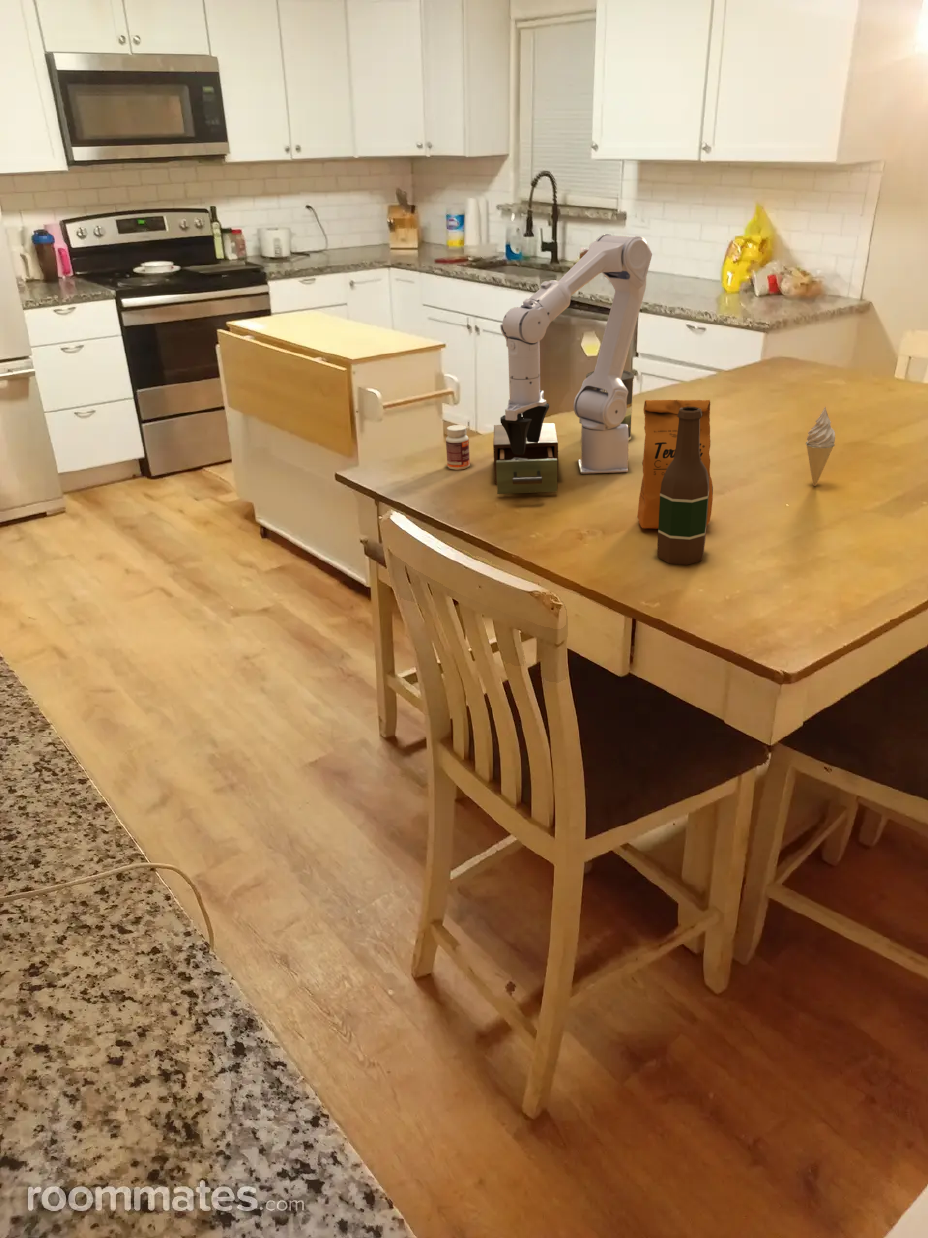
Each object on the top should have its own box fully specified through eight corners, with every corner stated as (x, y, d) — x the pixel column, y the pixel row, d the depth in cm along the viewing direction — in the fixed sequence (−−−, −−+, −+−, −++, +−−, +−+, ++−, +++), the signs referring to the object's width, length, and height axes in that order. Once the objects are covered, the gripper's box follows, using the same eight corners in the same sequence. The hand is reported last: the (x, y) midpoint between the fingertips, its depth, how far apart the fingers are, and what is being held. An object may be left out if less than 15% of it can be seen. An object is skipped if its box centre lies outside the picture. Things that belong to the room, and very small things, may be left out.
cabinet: (558, 481, 181) (558, 442, 178) (494, 484, 182) (493, 444, 178) (554, 460, 193) (554, 422, 190) (495, 462, 194) (493, 424, 190)
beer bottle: (650, 548, 151) (657, 403, 140) (696, 544, 151) (707, 400, 140) (663, 567, 144) (671, 417, 133) (711, 563, 144) (724, 413, 133)
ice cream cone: (828, 481, 174) (839, 403, 167) (828, 490, 169) (840, 410, 162) (800, 480, 175) (810, 402, 168) (800, 489, 171) (810, 409, 164)
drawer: (558, 500, 170) (558, 468, 167) (497, 502, 170) (496, 470, 167) (554, 470, 185) (554, 440, 182) (497, 472, 186) (496, 442, 183)
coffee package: (709, 538, 153) (719, 407, 143) (634, 534, 156) (639, 406, 146) (711, 516, 162) (721, 391, 151) (639, 512, 165) (644, 390, 154)
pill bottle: (467, 470, 191) (465, 430, 187) (445, 469, 191) (442, 430, 188) (471, 462, 195) (470, 424, 191) (450, 462, 196) (447, 424, 192)
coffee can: (626, 446, 199) (628, 381, 193) (580, 443, 203) (580, 379, 196) (636, 432, 208) (638, 369, 201) (592, 429, 211) (593, 368, 205)
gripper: (530, 386, 161) (531, 461, 167) (558, 367, 173) (558, 438, 179) (493, 384, 164) (496, 457, 170) (523, 366, 175) (525, 435, 182)
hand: (525, 447), depth 175 cm, fingers open, 7 cm apart
